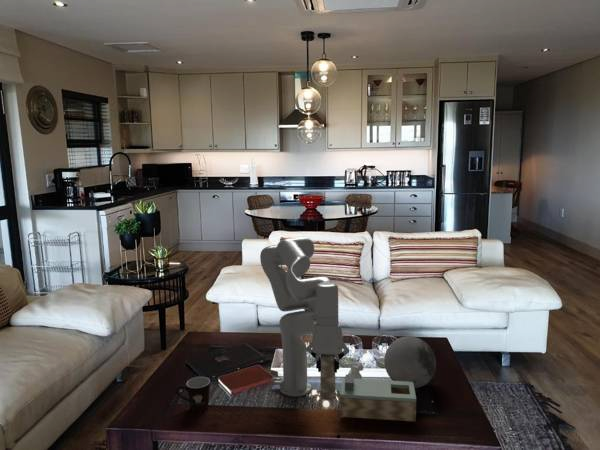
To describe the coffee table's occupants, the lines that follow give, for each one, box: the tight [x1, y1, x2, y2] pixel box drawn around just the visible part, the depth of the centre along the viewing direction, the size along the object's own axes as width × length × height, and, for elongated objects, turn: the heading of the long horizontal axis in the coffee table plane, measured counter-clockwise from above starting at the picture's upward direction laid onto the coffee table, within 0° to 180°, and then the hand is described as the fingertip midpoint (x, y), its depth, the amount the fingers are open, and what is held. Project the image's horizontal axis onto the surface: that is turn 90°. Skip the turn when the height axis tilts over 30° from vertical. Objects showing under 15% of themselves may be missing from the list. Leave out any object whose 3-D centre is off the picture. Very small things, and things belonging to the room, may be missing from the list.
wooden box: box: [339, 387, 417, 422], centre depth 171 cm, size 26×12×8 cm, turn 82°
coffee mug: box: [176, 376, 211, 412], centre depth 177 cm, size 12×9×10 cm
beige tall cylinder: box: [319, 354, 336, 401], centre depth 161 cm, size 5×5×15 cm
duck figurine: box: [347, 360, 364, 379], centre depth 190 cm, size 12×8×11 cm
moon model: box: [383, 335, 437, 389], centre depth 189 cm, size 20×20×20 cm
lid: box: [339, 374, 417, 403], centre depth 170 cm, size 26×12×4 cm, turn 82°
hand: (327, 370), depth 161 cm, fingers closed on beige tall cylinder, 4 cm apart
